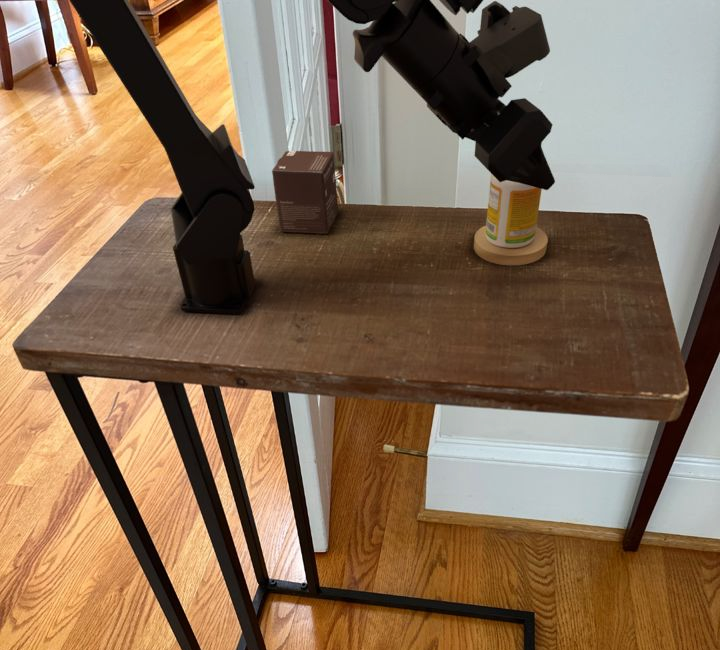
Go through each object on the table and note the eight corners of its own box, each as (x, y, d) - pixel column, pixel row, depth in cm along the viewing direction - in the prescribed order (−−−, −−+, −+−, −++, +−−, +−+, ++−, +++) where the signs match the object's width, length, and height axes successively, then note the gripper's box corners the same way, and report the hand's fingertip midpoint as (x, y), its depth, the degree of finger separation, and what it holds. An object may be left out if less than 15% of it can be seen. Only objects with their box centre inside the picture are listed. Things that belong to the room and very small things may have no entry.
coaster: (472, 264, 75) (472, 253, 74) (475, 229, 80) (476, 220, 79) (547, 267, 74) (548, 256, 73) (545, 232, 79) (546, 222, 78)
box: (327, 235, 81) (322, 172, 75) (278, 232, 82) (270, 170, 76) (339, 212, 85) (334, 150, 80) (292, 210, 86) (285, 149, 81)
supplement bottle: (542, 232, 76) (556, 141, 69) (522, 253, 73) (535, 160, 66) (497, 222, 79) (506, 133, 72) (476, 242, 76) (484, 151, 69)
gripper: (546, -1, 52) (643, 133, 61) (462, -44, 64) (552, 73, 74) (443, 124, 56) (547, 231, 66) (383, 61, 69) (477, 159, 79)
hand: (531, 167), depth 71 cm, fingers open, 9 cm apart
